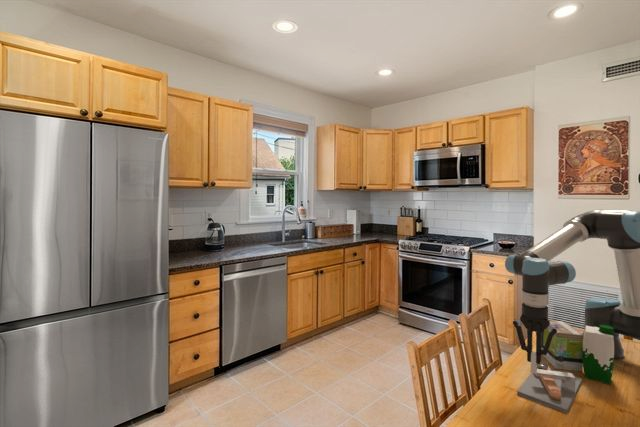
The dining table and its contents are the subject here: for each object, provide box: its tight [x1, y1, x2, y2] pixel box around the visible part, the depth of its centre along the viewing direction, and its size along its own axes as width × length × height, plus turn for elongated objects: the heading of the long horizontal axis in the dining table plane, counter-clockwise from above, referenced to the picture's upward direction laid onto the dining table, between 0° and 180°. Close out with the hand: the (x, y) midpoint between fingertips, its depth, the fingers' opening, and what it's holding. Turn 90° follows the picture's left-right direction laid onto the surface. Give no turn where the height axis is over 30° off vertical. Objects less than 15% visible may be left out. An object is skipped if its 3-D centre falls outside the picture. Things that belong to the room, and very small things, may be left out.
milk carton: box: [582, 325, 615, 386], centre depth 124 cm, size 9×9×20 cm
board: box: [516, 368, 583, 414], centre depth 118 cm, size 26×14×1 cm, turn 134°
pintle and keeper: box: [535, 362, 575, 392], centre depth 118 cm, size 13×14×5 cm
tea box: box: [541, 320, 584, 372], centre depth 137 cm, size 15×10×15 cm, turn 168°
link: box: [537, 365, 561, 400], centre depth 118 cm, size 20×5×2 cm, turn 160°
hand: (533, 371), depth 114 cm, fingers closed
